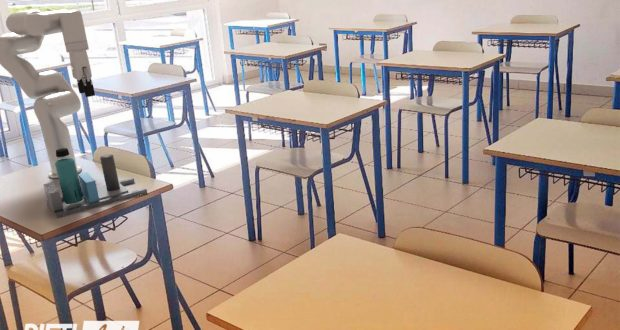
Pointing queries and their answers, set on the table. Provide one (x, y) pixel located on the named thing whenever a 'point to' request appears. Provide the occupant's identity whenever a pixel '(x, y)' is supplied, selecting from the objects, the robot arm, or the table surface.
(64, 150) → the beverage bottle
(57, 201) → the clamp frame
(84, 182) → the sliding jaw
